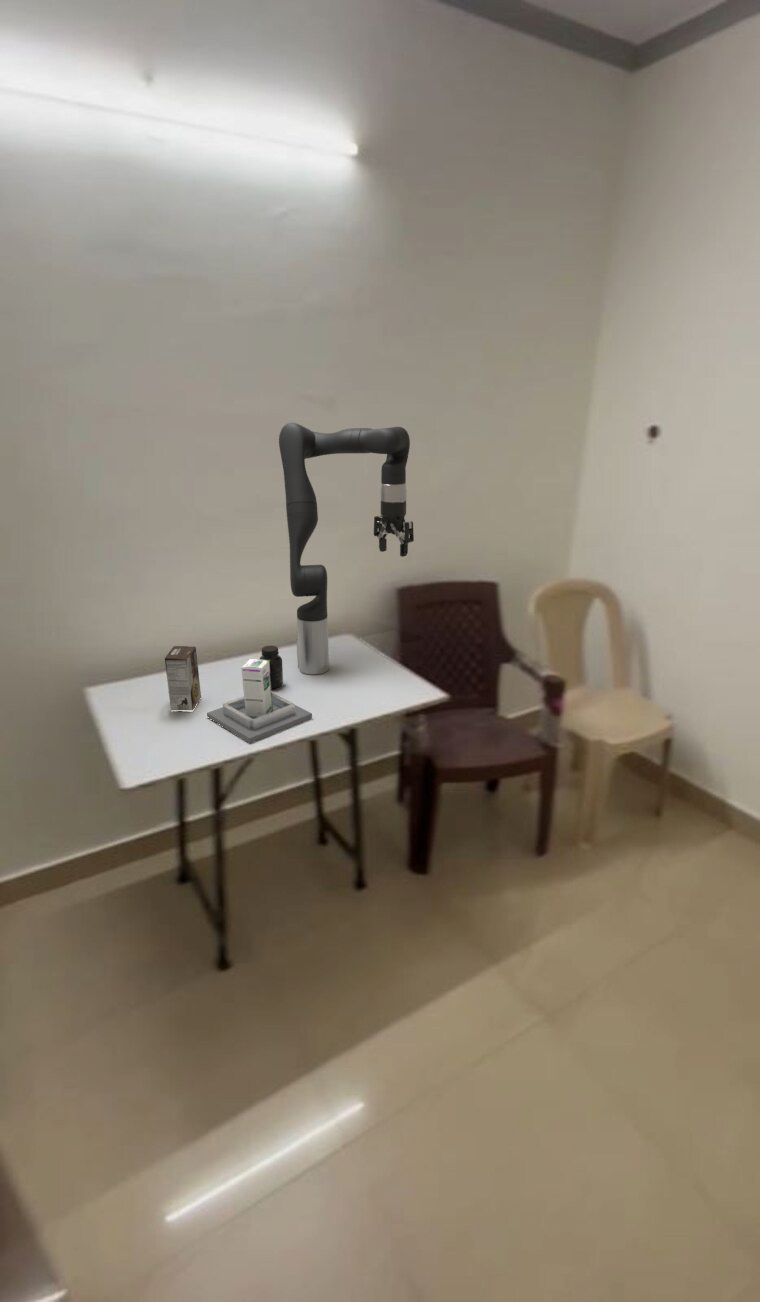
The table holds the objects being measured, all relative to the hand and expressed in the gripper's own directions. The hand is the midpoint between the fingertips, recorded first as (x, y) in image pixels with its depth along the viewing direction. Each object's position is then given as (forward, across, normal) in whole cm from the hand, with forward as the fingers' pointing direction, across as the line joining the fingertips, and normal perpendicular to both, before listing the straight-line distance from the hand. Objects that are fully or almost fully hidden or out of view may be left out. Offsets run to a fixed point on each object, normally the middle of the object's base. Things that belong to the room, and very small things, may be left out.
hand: (393, 553), depth 217 cm
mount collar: (+35, +1, -52) cm, 62 cm away
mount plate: (+36, +1, -52) cm, 63 cm away
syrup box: (+35, 0, -52) cm, 62 cm away
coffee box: (+36, -20, -62) cm, 74 cm away
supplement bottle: (+36, -14, -37) cm, 54 cm away
